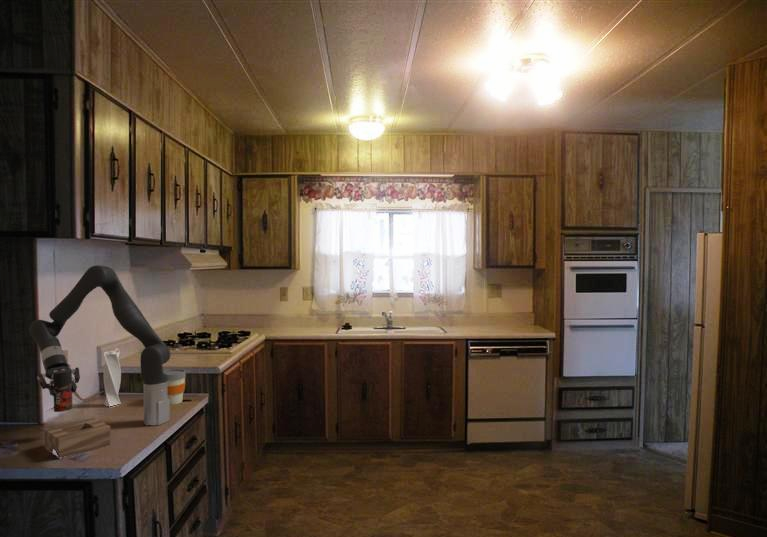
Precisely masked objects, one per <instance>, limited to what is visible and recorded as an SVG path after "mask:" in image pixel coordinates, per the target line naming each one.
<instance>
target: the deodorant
mask: <svg viewBox="0 0 767 537" xmlns="http://www.w3.org/2000/svg"><path fill="white" fill-rule="evenodd" d="M72 377H73V374H72V370H62V371H56V372H54V373H53V386H54V388H55V391H56V395H55V396H53V412H55V413H61V412H67V411H71V410H73V393H72Z"/></svg>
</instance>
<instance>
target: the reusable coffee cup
mask: <svg viewBox="0 0 767 537" xmlns="http://www.w3.org/2000/svg"><path fill="white" fill-rule="evenodd" d="M163 373H165V374H167V385H168V399H169V400H170V406H171V405H172V406H173V405H177V404H180V403H182V402H183V400H184V398H183V397H184V392H185V389H186V377H187V374H186V370H185V369H168V370H163Z"/></svg>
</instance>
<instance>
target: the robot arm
mask: <svg viewBox="0 0 767 537" xmlns="http://www.w3.org/2000/svg"><path fill="white" fill-rule="evenodd" d="M96 288H101V289H102V290H103V291H104V293H105V294H106V296H107V297H108V298H109V301H110V304H111V309H112V313H113V315H114V317H115V319H116V320H117V322H118V323H119V325H120V326H121V327H122V328H123V329H124V330H125V331H126V332H128V333H129V334H130V335H131V336H133V337H135V338H136V339H137V340H138V341H140V342H141V343H142V346H143V347H144V349H143V350H142V351H141V354H140V362H139V363H140V375H141V378H142V382H143V425H144V424H145V425H144V426H149V425H151V426H160V425H162V424H165V423H168V422H169V421H170V419H171V418H170V417H171V416H170V414H171V413H170V412H171V409H170V407H171V405H170V400H169V399H168V385H167V374H165V373H163V371H164V370H163V369H164V368H163V367H164V366H163V365H164V364H166V363H168V362H169V361H170V358H171V350H170V349H169V347H168V345H167V344H166V343H165V342H164V341H163V339H162V338H161V337H160V336H159V335H158V334H157V332H155V330H154V329H153V327H152V326H151V324H150V322H148V320H147V319H146V317H145V316H144V315H143V313H142V311H141V310H140V308H139V307H138V306H137V304H136V303H135V302H134V300H133V299H132V297H131V296H130V295H129V293H128V292H127V291H126V289H125V288H124V286H123V284H122V282H121V280H120V279H119V277H118V274H117V273H116V272H115V270H114V269H113V268H112V267H109V266H107V265H98V264H97V265H92V266H90V267H88V269H87V270H86V271H85V272H84V273H83V275H81V278H80V279H79V280H78V282H77V283H76V284H75V285H74V287H73V288H72V289H71V290H70V292H69V293H68V294H67V295H66V296H65V297H64V298H63V299H62V300H61V301H60V302H59V303H58V304H57V305H56V306H55V307H54V308H52V309H51V311H49V314H48V316H49V318H50V319H51V320H52V322H50V321H48V320H43V319H36V320H33V321H32V323H31V324H30V325H29V328H28V329H29V330H28V331H29V334H30V336H31V339H33V341H34V343H35V344H36V345H37V346H38V348H39V352H40V355H41V362H42V365H43V368H44V372H45V373H38V375H37V377H36V380H37V382H38V383H39V384H38V385H39V386H40V387H41V388H42V390H45V389H48V391H49V395H50V396H52V397H54V396H55V395H56V391H55V388H54V386H53V373H54V372H56V371H62V370H72V394H73V393H75V392H76V391H77V389H78V386H77V383H79V382H80V378H81V375H80V368H79V367H77V366H76V367H75V368H70V367H69V364H68V361H67V358H66V355H65V352H64V350H63V348H62V345H61V342H60V340H59V338H58V336H59V334H60V333H61V331H62V329H63V328H64V326H65V325H66V323H67V321H68V320H69V319H70V318H71V317H73V315H74V314H76V312H77V311H78V310H79V309H80V307H81V306H82V304H83V302H84V300H85V298H86V297H87V295H89V294H90V293H91V292H92V291H93V290H95V289H96ZM45 378H47V379H49V383H47V381H46V379H45Z"/></svg>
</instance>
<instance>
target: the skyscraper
mask: <svg viewBox="0 0 767 537" xmlns="http://www.w3.org/2000/svg"><path fill="white" fill-rule="evenodd" d="M117 350H118V351H117ZM120 354H121V350H120V348H119V347H118V348H115V350H110V351H105V352H104V353H103V356H104V357H103V358H104V359H105V361H104V366H103V373H102V374H103V378H102V379H103V386H104V392H105V396H106V397H105V399H104V400H105V401H104V404H103V406H104V405H106V406H105V407H107V406H109V407H108V408H111V407H110V406H113V405H117V404H121V405H122V403H121V400H120V397H119V391H120V387H121V383H122V382H121V381H122V380H121V379H122V371H121V370H122V368H121V364H120V359H119V358H120ZM117 406H118V405H117ZM113 407H114V406H113Z"/></svg>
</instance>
